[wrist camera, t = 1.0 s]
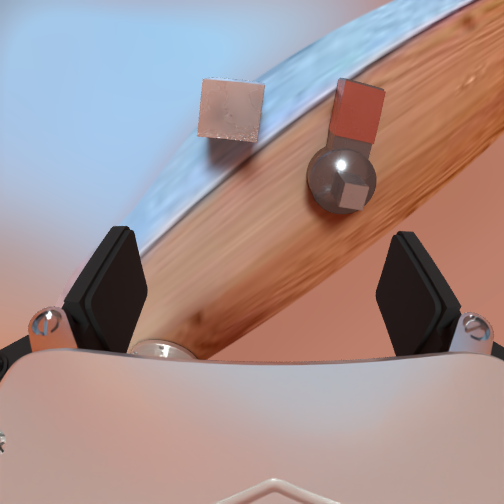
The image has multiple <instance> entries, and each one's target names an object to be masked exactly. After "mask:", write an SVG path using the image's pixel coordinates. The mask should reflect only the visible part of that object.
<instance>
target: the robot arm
mask: <svg viewBox="0 0 504 504" xmlns="http://www.w3.org/2000/svg"><path fill="white" fill-rule="evenodd" d="M147 291H148V290H147V284H146V280H145V276H144V272H143V268H142V264H141V260H140V256H139V251H138V247H137V243H136V238H135V234H134V231H133V230H130V229H129V227H128V226H113V227H112V228H111V229H110V231H109V232H108V234H107V235H106V236H105V238H104V239H103V241H102V242H101V244H100V245H99V246H98V248H97V249H96V251H95V252H94V254H93V255H92V257H91V258H90V260H89V261H88V263H87V264H86V266H85V267H84V269H83V271H82V272H81V274H80V275H79V277H78V278H77V280H76V282H75V283H74V285H73V286H72V288H71V290H70V291H69V293H68V295H67V296H66V298H65V300H64V302H65V303H64V305H63V307H62V308H60V307H55V306H53V307H47V308H44V309H42V310H40V311H38V312H37V313H36V314H35V315H34V316H33V317H32V319H31V320H30V322H29V325H28V333H29V335H27V336H25V337H23V338H21V339H20V340H18V341H16V342H14V343H12V344H10V345H9V346H7V347H5V348H3V349H1V350H0V504H504V347H502V346H501V345H499V344H497V343H496V342H494V341H493V339H494V331H493V328H492V326H491V325H490V323H489V322H488V321H487V320H486V319H485V318H484V317H482V316H481V315H479V314H476V313H472V312H467V313H464V314H463V315H462V314H461V313H460V308H461V305H460V303H459V302H458V300H457V298H456V296H455V295H454V293H453V291H452V290H451V288H450V286H449V285H448V283H447V282H446V280H445V278H444V277H443V275H442V274H441V272H440V270H439V269H438V268H437V266H436V264H435V263H434V261H433V260H432V258H431V257H430V255H429V254H428V252H427V251H426V250H425V248H424V247H423V245H422V243H421V242H420V241H419V239H418V238H417V236H416V235H415V234H414V232H405V231H399V232H398V233H397V234H396V235H394V236H393V237H392V240H391V243H390V247H389V250H388V254H387V257H386V261H385V264H384V267H383V271H382V274H381V277H380V280H379V283H378V287H377V290H376V301H377V303H378V306H379V309H380V311H381V314H382V317H383V320H384V322H385V325H386V328H387V330H388V334H389V337H390V339H391V342H392V345H393V348H394V351H395V354H396V357H385V358H373V359H358V360H339V361H314V362H313V361H311V362H245V361H217V360H198V359H197V358H196V357H195V356H194V355H193V354H192V353H191V352H190V351H188V350H187V349H185V348H184V347H182V346H180V345H177V344H175V343H172V342H168V341H163V340H146V341H142V342H139V343H137V344H136V345H135V346H134V347H133V348H132V350H131V353H130V354H126V352H127V350H128V347H129V344H130V341H131V338H132V335H133V332H134V330H135V327H136V324H137V321H138V319H139V316H140V313H141V310H142V308H143V305H144V302H145V300H146V297H147Z"/></svg>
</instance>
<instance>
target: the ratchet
mask: <svg viewBox="0 0 504 504" xmlns="http://www.w3.org/2000/svg"><path fill="white" fill-rule="evenodd" d="M384 97H385V91H384V89H382V88H378V87H375V86H371V85H368V84H364V83H361V82H357V81H353V80H349V79H345V78H340V79H339V80H338V85H337V90H336V96H335V101H334V106H333V111H332V116H331V121H330V126H329V136H328V141H327V145H326V147H324V148H322V149H321V150H319V151H318V152H317V153H316V154H315V155H314V156H313V158H312V159H311V161H310V163H309V166H308V169H307V181H308V184H309V187H310V189H311V191H312V194H313V196H314V198H315V200H316V202H317V203H318V204H319V205H320V206H321V207H322V208H323V209H325V210H327V211H329V212H331V213H335V214H349V213H352V212H355V211H357V210H363V207H364V206H365V205H366V204H367V203H368V201H369V200H370V199H371V197H372V196H373V194H374V191H375V188H376V173H375V170H374V168H373V166H372V164H371V163H370V161H369V160H368V158H369V154H370V150H371V146H372V144H374V141H375V137H376V133H377V129H378V124H379V120H380V115H381V111H382V106H383V102H384Z"/></svg>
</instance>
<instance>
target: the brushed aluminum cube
mask: <svg viewBox="0 0 504 504" xmlns="http://www.w3.org/2000/svg"><path fill="white" fill-rule="evenodd" d="M264 89H265V85H264V83H262V82H254V81H246V80H237V79H226V78H214V77H212V78H206V79H203V83H202V92H201V102H200V113H199V124H198V135H197V136H198V137H210V138H220V139H230V140H239V141H248V142H256V143H257V137H258V130H259V123H260V116H261V109H262V102H263V95H264Z"/></svg>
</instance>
